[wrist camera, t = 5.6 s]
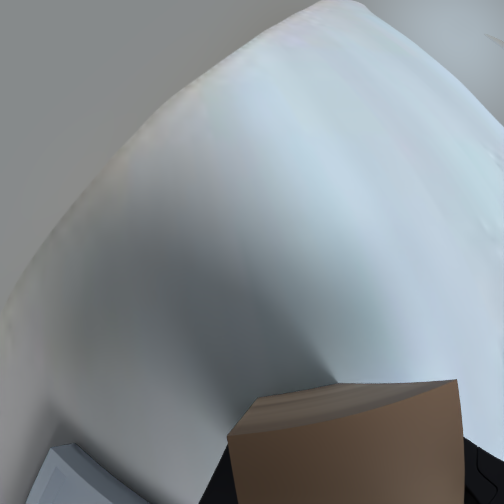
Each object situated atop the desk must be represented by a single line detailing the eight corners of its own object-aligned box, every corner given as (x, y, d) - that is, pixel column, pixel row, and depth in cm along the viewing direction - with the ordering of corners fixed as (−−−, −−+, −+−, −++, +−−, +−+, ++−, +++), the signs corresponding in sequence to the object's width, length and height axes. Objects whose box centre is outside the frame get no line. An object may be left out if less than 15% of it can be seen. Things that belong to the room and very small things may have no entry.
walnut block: (348, 455, 13) (459, 546, 3) (269, 471, 13) (260, 603, 3) (338, 383, 14) (457, 379, 4) (257, 397, 14) (226, 435, 4)
